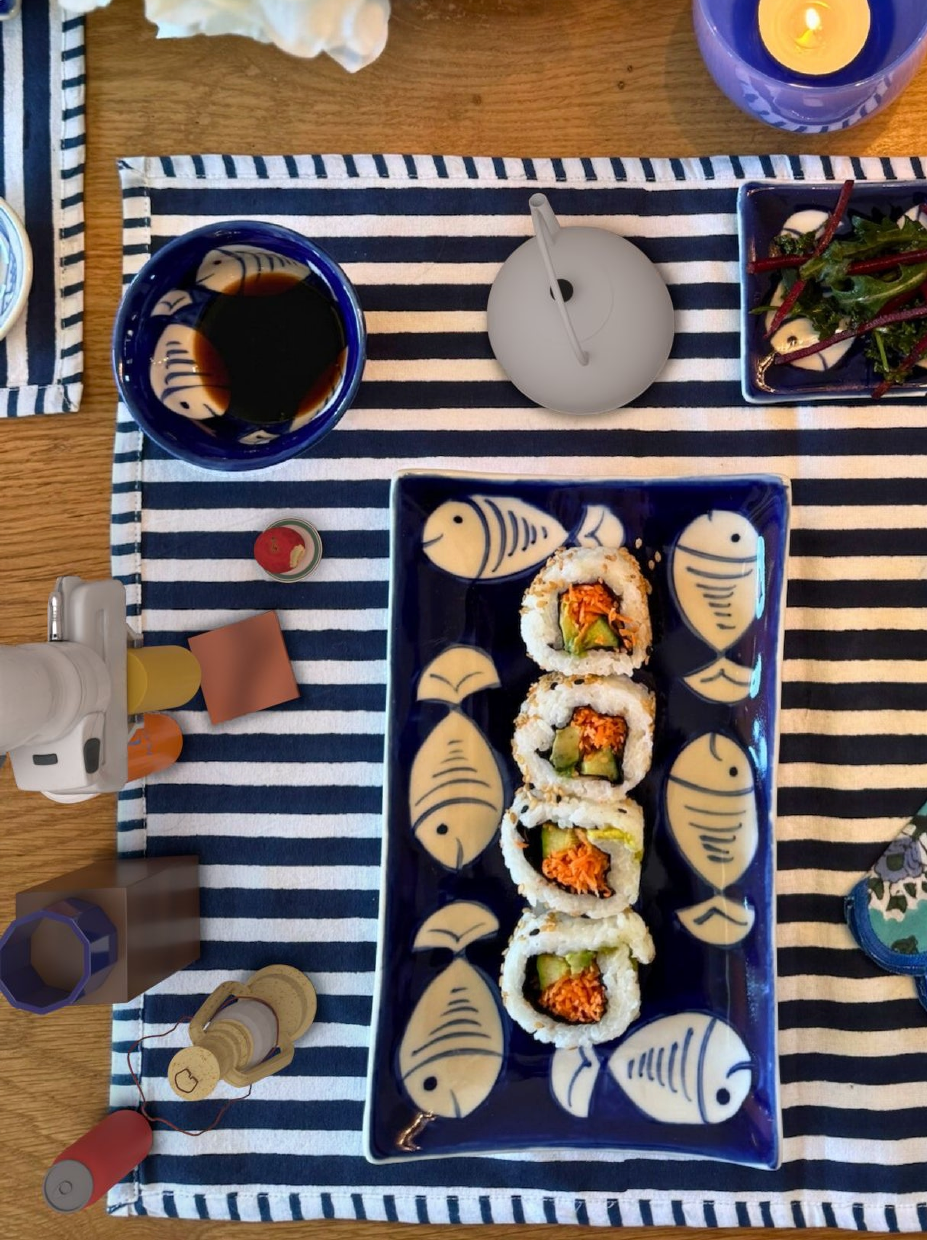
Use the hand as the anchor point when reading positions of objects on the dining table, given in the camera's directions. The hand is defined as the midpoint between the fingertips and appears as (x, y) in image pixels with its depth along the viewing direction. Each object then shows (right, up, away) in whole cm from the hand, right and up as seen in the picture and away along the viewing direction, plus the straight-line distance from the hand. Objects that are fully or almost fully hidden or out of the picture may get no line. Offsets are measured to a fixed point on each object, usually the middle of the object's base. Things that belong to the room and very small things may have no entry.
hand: (136, 681), depth 117 cm
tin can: (0, -1, +7) cm, 7 cm away
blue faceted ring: (-10, -29, +6) cm, 32 cm away
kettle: (+41, +41, +28) cm, 64 cm away
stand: (-10, -31, +22) cm, 39 cm away
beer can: (-11, -57, +20) cm, 61 cm away
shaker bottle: (-10, -11, +24) cm, 28 cm away
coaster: (0, -2, +25) cm, 25 cm away
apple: (+6, +12, +26) cm, 29 cm away
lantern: (+6, -42, +21) cm, 47 cm away
